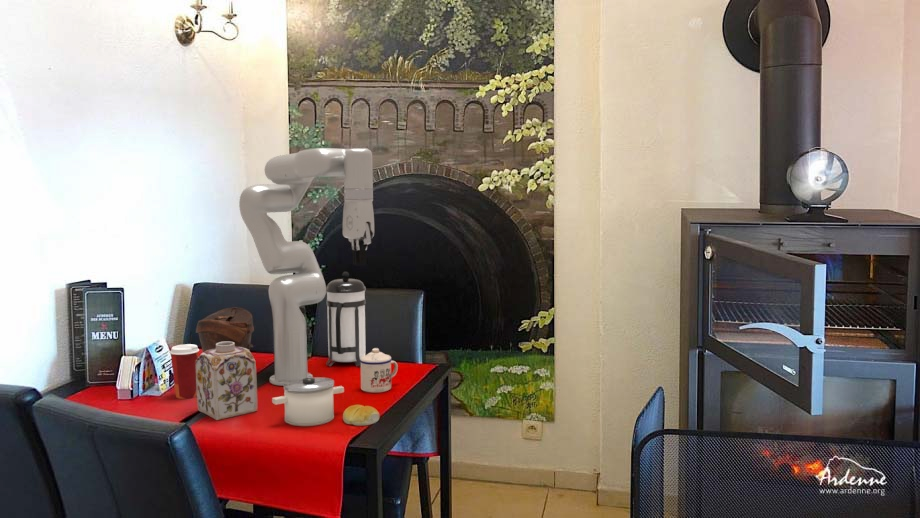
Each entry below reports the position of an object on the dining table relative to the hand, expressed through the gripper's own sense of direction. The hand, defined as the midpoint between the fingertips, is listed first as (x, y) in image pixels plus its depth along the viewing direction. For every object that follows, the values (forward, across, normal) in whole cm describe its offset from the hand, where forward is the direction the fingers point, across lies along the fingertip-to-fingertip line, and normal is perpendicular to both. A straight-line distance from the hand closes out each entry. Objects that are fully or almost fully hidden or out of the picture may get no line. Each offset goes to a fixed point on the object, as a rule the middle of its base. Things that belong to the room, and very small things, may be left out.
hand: (359, 264), depth 201 cm
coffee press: (+37, -39, +15) cm, 56 cm away
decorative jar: (+37, -12, -33) cm, 51 cm away
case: (+37, -59, -18) cm, 72 cm away
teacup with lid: (+37, -8, +10) cm, 39 cm away
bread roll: (+38, +15, -8) cm, 41 cm away
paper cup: (+37, -32, -38) cm, 62 cm away
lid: (+29, +6, -18) cm, 34 cm away
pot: (+37, +6, -18) cm, 42 cm away
